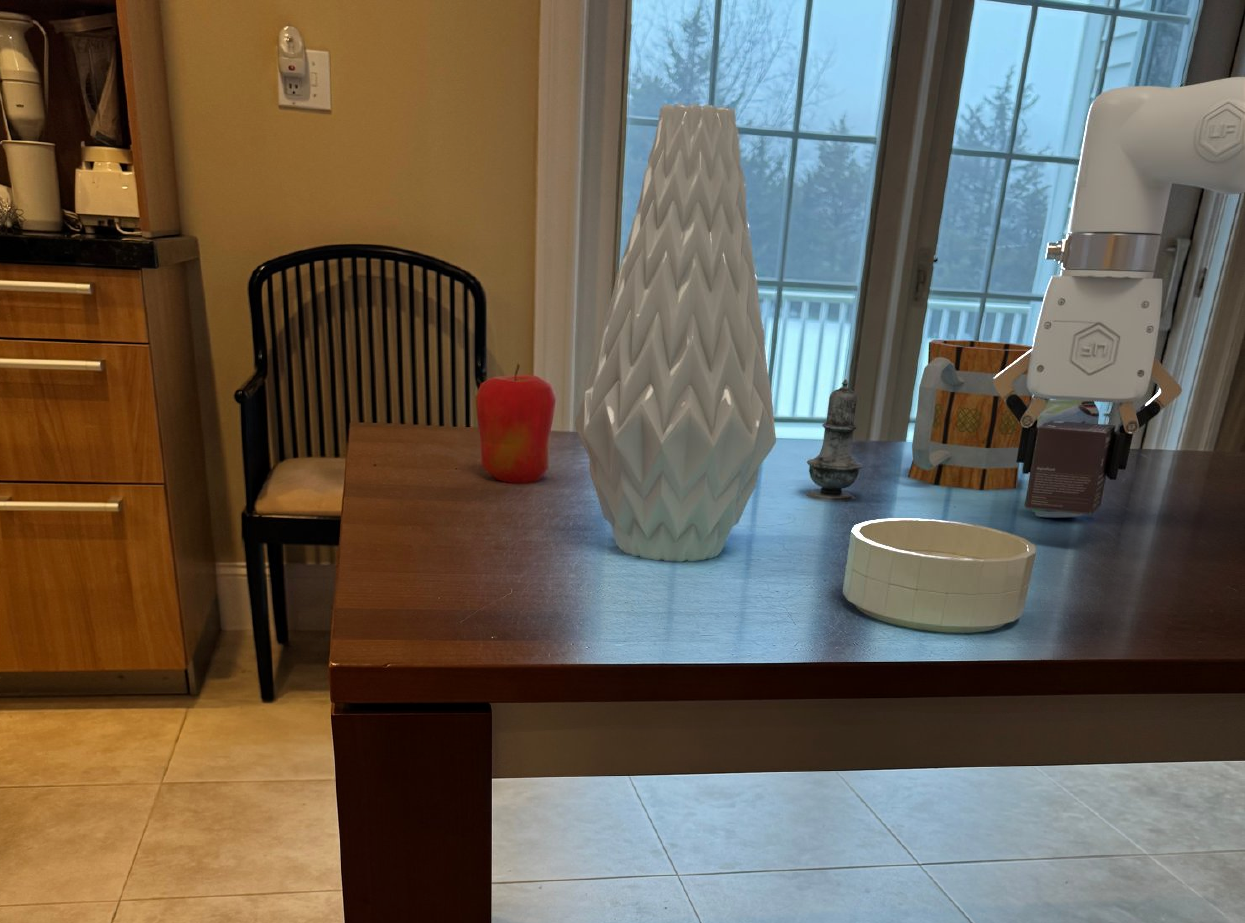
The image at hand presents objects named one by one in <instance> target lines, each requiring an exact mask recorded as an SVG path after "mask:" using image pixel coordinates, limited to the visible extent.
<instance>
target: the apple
mask: <svg viewBox="0 0 1245 923" xmlns="http://www.w3.org/2000/svg"><path fill="white" fill-rule="evenodd" d="M516 364H517V365H516V368H515V372H514V375H503V376H502V375H501V376H492V377H490V378H488V379H487V380H485V381H482V382H481V383H480V384H479V388H478V390H477V392H476V395H475V398H474V400H475V408H476V409H475V410H476V419H477V425H478V431H479V436H480V452H481V466H482V467H483V468H484V469H485V470H486V471H487V472H488V473H489V475H491V477H493V478H494V479H495V480H497V481H500V482H503V483H511V484H529V483H535V482H538V481H539V480H540V479H541V478H542V476H543V475H544V474H546V472H547V471H548V469H549V464H550V462H549V458H550V457H549V455H550V437H551V433H552V427H553V421H554V414H555V408H556V400H557V397H556V394H555V391H554V390H553V386H552V384H551V383H549V382H548V381H546V380H544V379H543V378H542V377H539V376H538V375H534V374H533V375H532V374H519V375H518V373H519V370H520V367H521V366H520V364H519V363H516Z"/></svg>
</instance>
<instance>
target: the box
mask: <svg viewBox="0 0 1245 923" xmlns="http://www.w3.org/2000/svg"><path fill="white" fill-rule="evenodd" d="M1114 431H1116V424H1103V423H1098V424H1090V423H1076V422H1062V421H1051V422H1049V423H1043V425H1041V426H1039V427H1038V431H1037V437H1036V442H1035V448H1034V453H1033V459H1032V465H1031V470H1030V472H1029V478H1028V483H1027V490H1026V496H1025V500H1024V508H1025V509H1028V510H1029V509H1037V510H1048V511H1057V512H1067V513H1076V514H1082V515H1084V516H1085V515H1088V516H1090V515H1092V514H1093V513H1095V512H1096V511H1097V510H1098V509H1099V507H1100V506H1101V505H1102V500H1103V494H1104V490H1105V484H1106V478H1107V475H1106V470H1107V465H1108V460H1109V455H1110V450H1111V445H1112V440H1113V435H1114Z"/></svg>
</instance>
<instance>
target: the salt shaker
mask: <svg viewBox="0 0 1245 923" xmlns="http://www.w3.org/2000/svg"><path fill="white" fill-rule="evenodd" d="M841 385H842V386H841V387H839V388H838V389H835V390H833V391H831V393H830V394H829V397H828V406H827V413H826V421H825V422H824V423H822V427H823V428H824V431H823V432H824V433H823V438H822V439H823V440H822V446H821V448H820V451H819V454H818V455H817V456H815V457H814V458H810V459H808V460H807V461H806V463H807V465H808V466H809V468H808V472H809V477H810V480H811V481H812V482H813V483H814V484H815V485H816V486H818V487H820V488H815V489H811V490H810V491H808V492H806V494H805V496H806V497H808V498H810V499H814V500H820V501H827V502H852V501H854V500H856V497H855V496H854V495H853V494H851V492H848V491H845V490H843V489H846V488H849V487H851V486H852V485H853V484H854V483H855V481H856V479H857V478H858V476H859V471H860V469H862V468H863V464H862V463H860V462H858V461H856V460H855V458H854V457H853V452H852V444H853V439H854V438H853V437H854V431H855V430H857V428H858V427H857V426H856V425H855V417H856V409H857V402H858V396H857V394H856V393H855V392H854V391H853V390H851V389H850V388H849V387H848V385H849V383H848V380H847V379H846V378H845V379H844V380H843V381H842V383H841Z"/></svg>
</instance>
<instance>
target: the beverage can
mask: <svg viewBox="0 0 1245 923" xmlns="http://www.w3.org/2000/svg"><path fill="white" fill-rule="evenodd" d="M1099 419H1100V410H1099V408H1098V406H1097V404H1096V403H1095V401H1076V400H1058V399H1050V400H1049V402H1048V403H1047V405H1046V406H1045V408H1044V409H1043V410H1042V412H1041V413H1040V415H1039V416H1038V418H1037V427H1039V426H1041V425H1043V423H1049V422H1051V421H1062V422H1076V423H1090V424H1099V421H1100V420H1099ZM1028 510H1029V511H1032V512H1034V515H1035V517H1040V518H1075V517H1081V516H1082V515H1083V514H1076V513H1067V512H1057V511H1048V510H1037V509H1029V508H1028Z"/></svg>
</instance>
